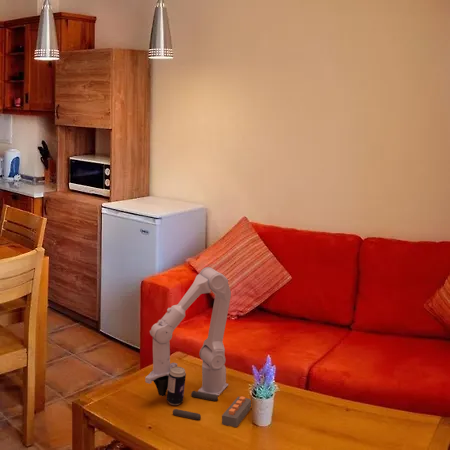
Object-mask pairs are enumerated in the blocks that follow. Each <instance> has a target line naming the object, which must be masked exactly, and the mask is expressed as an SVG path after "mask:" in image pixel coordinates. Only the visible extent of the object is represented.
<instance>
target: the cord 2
mask: <svg viewBox="0 0 450 450" xmlns="http://www.w3.org/2000/svg"><path fill="white" fill-rule="evenodd" d="M190 396H191V397H192V398H196V399H202V400H207V401H211V402H217V401H218V399H219V397H218V396H216V395H212V394H207V393H202V392H198V390H197V391H196V390H192V391H191V393H190Z"/></svg>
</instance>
